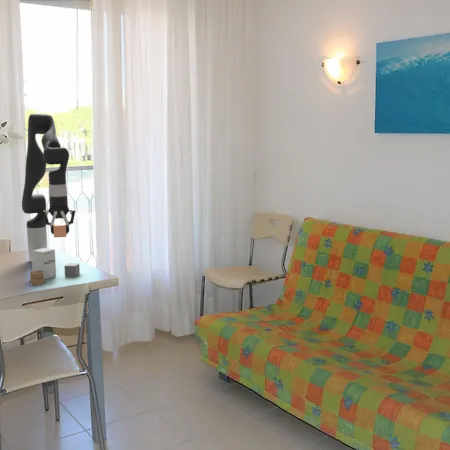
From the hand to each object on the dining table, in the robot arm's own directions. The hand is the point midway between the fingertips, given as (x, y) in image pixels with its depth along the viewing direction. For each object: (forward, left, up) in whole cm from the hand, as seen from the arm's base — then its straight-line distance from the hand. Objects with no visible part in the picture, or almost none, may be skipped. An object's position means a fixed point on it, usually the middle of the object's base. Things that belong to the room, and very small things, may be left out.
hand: (60, 233), depth 261 cm
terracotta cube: (0, 0, -1) cm, 1 cm away
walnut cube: (+2, -10, -21) cm, 24 cm away
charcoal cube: (-9, +4, -21) cm, 23 cm away
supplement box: (-8, -8, -21) cm, 24 cm away
